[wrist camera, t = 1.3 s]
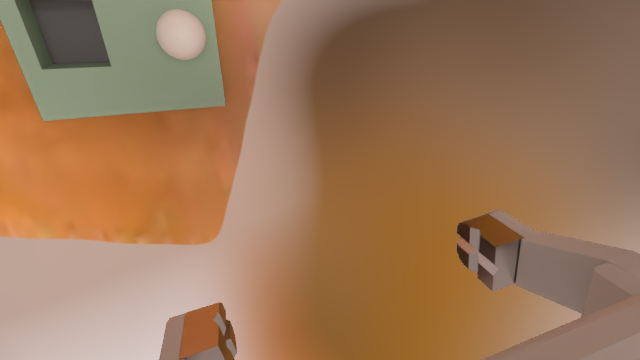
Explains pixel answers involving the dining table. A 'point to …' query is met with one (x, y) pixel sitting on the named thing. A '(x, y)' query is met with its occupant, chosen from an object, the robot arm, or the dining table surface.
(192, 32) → the ball
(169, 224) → the dining table surface
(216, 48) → the putting deck
